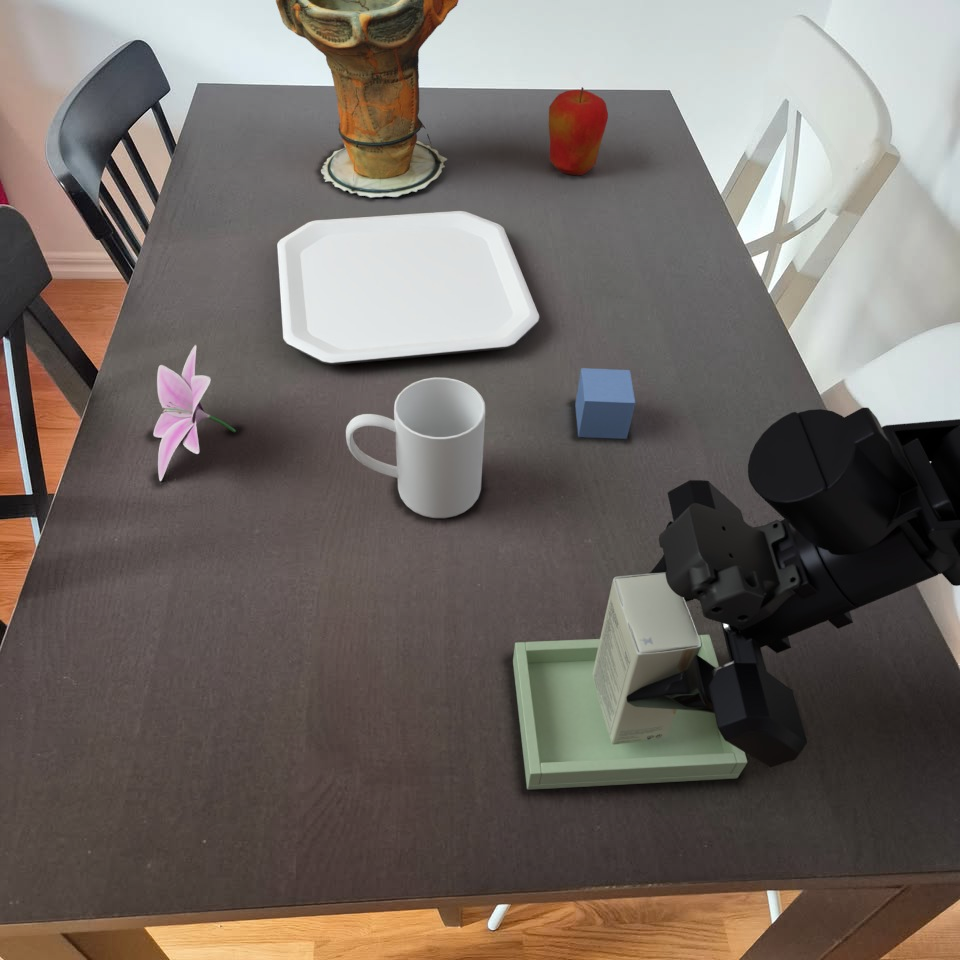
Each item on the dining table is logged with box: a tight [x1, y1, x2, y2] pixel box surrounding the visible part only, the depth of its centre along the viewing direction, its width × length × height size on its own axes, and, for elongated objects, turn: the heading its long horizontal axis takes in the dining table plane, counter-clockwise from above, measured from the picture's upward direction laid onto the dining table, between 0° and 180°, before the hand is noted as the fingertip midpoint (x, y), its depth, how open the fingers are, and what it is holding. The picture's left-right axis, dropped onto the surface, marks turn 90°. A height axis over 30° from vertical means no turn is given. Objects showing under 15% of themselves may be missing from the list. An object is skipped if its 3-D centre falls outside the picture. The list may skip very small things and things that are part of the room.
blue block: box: [574, 367, 636, 440], centre depth 85 cm, size 5×5×5 cm
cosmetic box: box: [593, 573, 701, 744], centre depth 58 cm, size 6×4×12 cm
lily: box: [153, 344, 237, 482], centre depth 80 cm, size 12×12×10 cm
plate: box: [276, 210, 541, 366], centre depth 100 cm, size 29×29×2 cm
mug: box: [345, 377, 486, 519], centre depth 75 cm, size 12×8×10 cm, turn 99°
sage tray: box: [512, 634, 748, 791], centre depth 63 cm, size 16×11×3 cm
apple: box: [548, 87, 609, 176], centre depth 119 cm, size 9×8×12 cm
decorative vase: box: [275, 0, 459, 199], centre depth 111 cm, size 21×23×28 cm
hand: (623, 657), depth 58 cm, fingers closed on cosmetic box, 6 cm apart
